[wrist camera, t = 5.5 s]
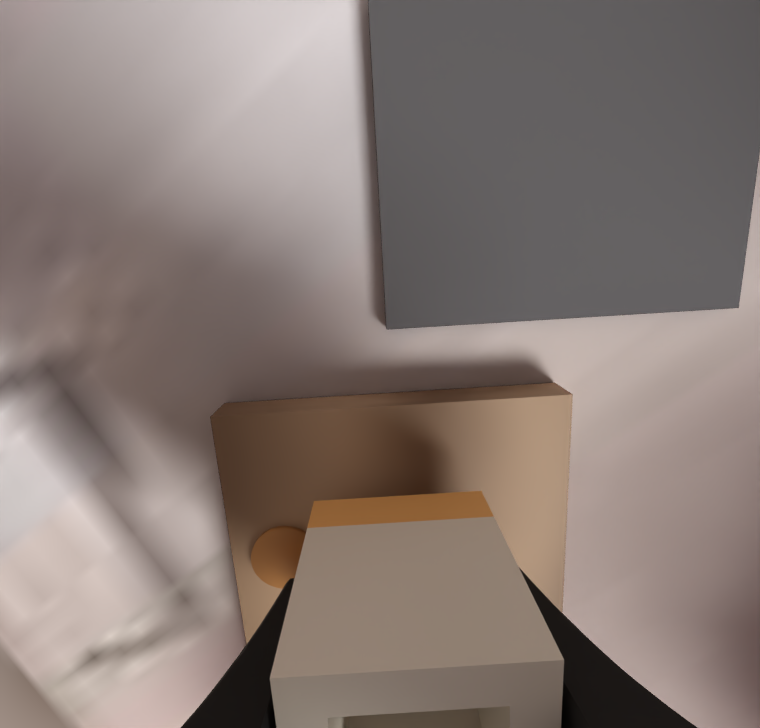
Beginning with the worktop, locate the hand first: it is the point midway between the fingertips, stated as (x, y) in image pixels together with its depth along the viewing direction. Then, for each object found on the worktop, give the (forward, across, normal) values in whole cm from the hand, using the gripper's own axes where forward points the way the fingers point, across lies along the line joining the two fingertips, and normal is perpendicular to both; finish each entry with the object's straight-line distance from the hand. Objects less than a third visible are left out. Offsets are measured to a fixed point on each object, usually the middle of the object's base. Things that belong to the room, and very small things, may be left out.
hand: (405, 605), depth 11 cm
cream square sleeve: (+1, 0, 0) cm, 1 cm away
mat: (+3, -5, -10) cm, 12 cm away
